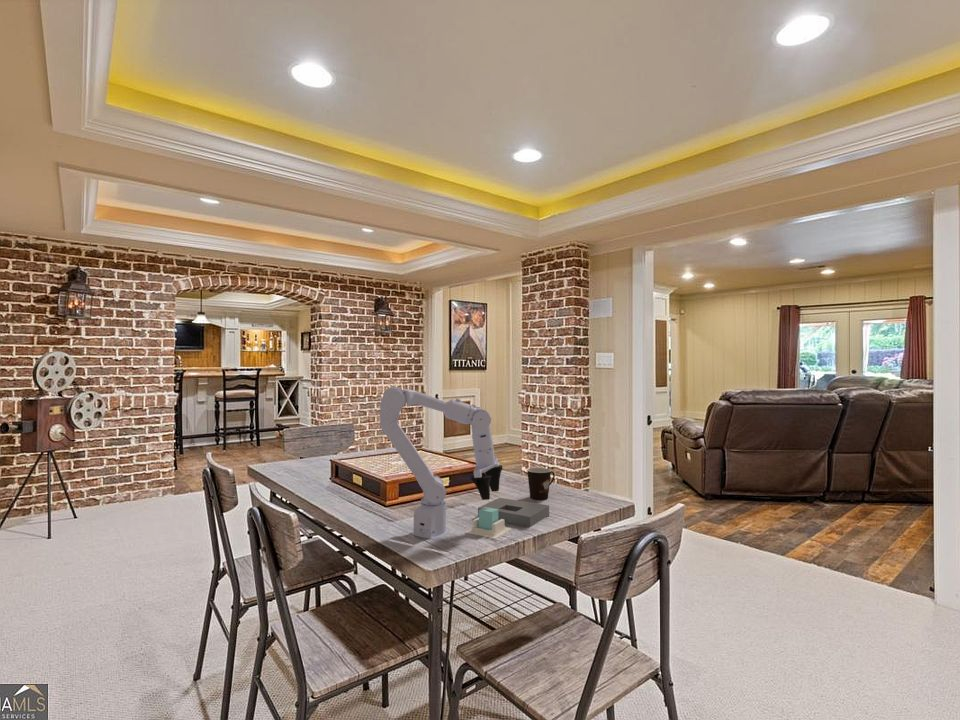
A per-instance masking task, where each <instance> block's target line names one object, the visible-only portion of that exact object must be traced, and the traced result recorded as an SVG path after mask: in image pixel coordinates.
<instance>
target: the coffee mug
mask: <svg viewBox="0 0 960 720" xmlns="http://www.w3.org/2000/svg"><path fill="white" fill-rule="evenodd" d="M526 471H527V480H528V489H529V497H530V499H531V500H534V501H546V500H548V499H549V493H550V486H551V485H552V483H553V482H554V480H555V477H556V475H555V472H554V471H552V470H551V469H549V468H546V467H545V468H544V467H531V468H527V470H526ZM551 476H552V479H551Z"/></svg>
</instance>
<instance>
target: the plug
mask: <svg viewBox="0 0 960 720" xmlns="http://www.w3.org/2000/svg"><path fill="white" fill-rule="evenodd" d="M497 521H498V509H494V508H488V507H484V508H482V509H480V510H479V528H482V529H487V530H492V524H493V523H495V522H497Z"/></svg>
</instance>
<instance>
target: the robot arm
mask: <svg viewBox="0 0 960 720" xmlns="http://www.w3.org/2000/svg"><path fill="white" fill-rule="evenodd" d="M405 404H406V407H411V406H412V407H413V406H417V405H418V406H422V407H425V408H427V409H428V408H429V409H431V410H435V411H439V412H441V413H443V415H444V417H445V419H449V420H452V421H454V422H458V423H460V424H463V425H469V424H470V427H471V433H472V434H471V437H472V438H471V440H472V445H473V452H474V453H473V454H474V458H475V467H474V470H473V475H471V477H470V478H471V481H472V482H473V484H474V485H475V486H476V489H477V491H478V494H479V495H480V498H481V500H482V501H487V500H490V498H491V492H499V489H500V482H501V481H500V479H501V474H502V471H503V465H500V464H501V463H500V462H499V458H498V457H496V455H495V450H494V449H495V448H494V442H493V436H492V431H491V423H492V417H491V416H490V414H489V412H488V411H487V410H485V409H483V408H481V407H480V406H477V405H476V404H474V403H473V404H468V403H466V402H463V401H461V399H460V398H455V399H453V398H451V399H450V400H448V401H445V400H443V399H439V398H437V397H433V396H431V395H428V394H426V393H424V392H420V391H418V390H414V389H409V388H400V387H398V386H389V387H388V388H387V389H385V391H384V393H383V395H382V397H381V401H380V403H379V427H380V429H381V430H382V431H383V433H384V434H385V436H386V438H387V439H388V440H389V441H390V443H391V444H392V447H394V449H395V450H396V451H397V453H398V454H399V456H400V457H401V459H402V460H403V462H404V463H405V465H406V466H407V468H408V469H409V471H410V472H411V474H413V475H414V477H415V479H416V482H417V483H418V485H419V487H420V488H421V490H422V493H423V497H422V498H421V499H420V505H419V506H418V507H417V508H415V510H414V512H413V532H412V533H410V535H411V536H415V537H420V538H425V539H430V540H435V539H438V538H439V537H441V536H444V535H445V534H446V535H447V533H450V532H452V531H453V529H452V528H447V499H446V497H447V489H446V487H445V485H444V482H443V479H442V478H441V477H440V476H438V475H436V474H435V473H434V472H433V471H432V469H431V468H430V467H429V466H428V464H427V463H426V461H425V460H424V458H423V457H422V456H421V454H420V453H419V452H418V450H417V449H416V447H415V446H414V444H413V442H412V441H411V439H410V438H409V437H408V435H406V433H405V431H404V430H403V428H402V427H401V425H400V424H399V423H398V421H399V418H400V413H401V411H402V409H403V407H404V406H405Z"/></svg>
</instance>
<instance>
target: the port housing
mask: <svg viewBox="0 0 960 720" xmlns="http://www.w3.org/2000/svg"><path fill="white" fill-rule="evenodd" d="M484 507H488V508H494V509H498V521H499V520H501V519H504V520H505V524H510V525H517V526H522V527H525V528H526V527H527V528H531V527H533V526H534V525H536V524H537V523H539V522H541V521H542V520H544V519H545V518H546V519H548V518H549V517H550V505H547V504H542V503H536V502H528V501H523V500H517V499H512V498H511V499H510V498H509V499H508V498H503V497H498V498H496V499H494V500H491V501H489V502H488V503H485V504H483V505H481V506H479V507H478V508H477V518H478V517H479V510H480V509H482V508H484ZM547 517H548V518H547Z"/></svg>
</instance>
